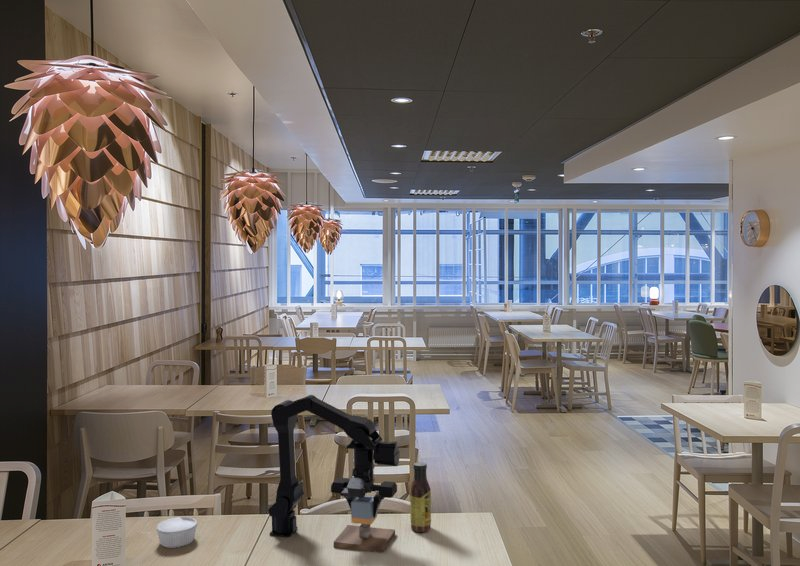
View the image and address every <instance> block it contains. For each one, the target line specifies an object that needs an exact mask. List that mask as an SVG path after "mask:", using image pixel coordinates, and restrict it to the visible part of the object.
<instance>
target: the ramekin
mask: <svg viewBox="0 0 800 566" xmlns="http://www.w3.org/2000/svg"><path fill="white" fill-rule="evenodd" d="M197 527H198V521H197V519H195V518H193V517H189V516H178V517H177V516H176V517H171V518H168V519H165V520H163V521H161V522H159V523H158V524H157V525H156V532H157V535H158V539H159V544H160V545H161V546H162V547H165V548H168V549H170V548H171V549H176V547H177V548H181V546H182V547H185V546H188V545H190V544H191V543H192V542H193V541H194V539H195V536H196V531H197V530H196V529H197ZM184 545H185V546H184Z"/></svg>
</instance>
